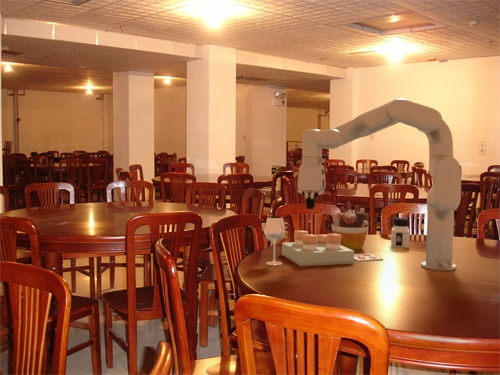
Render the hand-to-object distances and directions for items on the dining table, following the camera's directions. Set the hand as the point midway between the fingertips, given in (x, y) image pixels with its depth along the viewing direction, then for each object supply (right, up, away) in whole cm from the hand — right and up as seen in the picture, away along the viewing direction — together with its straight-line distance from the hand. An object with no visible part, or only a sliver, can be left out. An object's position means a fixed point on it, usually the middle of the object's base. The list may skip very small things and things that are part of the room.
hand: (310, 208), depth 213 cm
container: (+46, -19, +39) cm, 63 cm away
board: (+3, -21, +8) cm, 22 cm away
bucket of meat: (+21, -19, +33) cm, 43 cm away
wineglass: (-14, -21, -2) cm, 26 cm away
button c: (0, -17, +1) cm, 17 cm away
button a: (+10, -17, +4) cm, 20 cm away
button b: (+7, -19, +14) cm, 24 cm away
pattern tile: (+23, -21, +11) cm, 33 cm away
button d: (-3, -17, +11) cm, 20 cm away
